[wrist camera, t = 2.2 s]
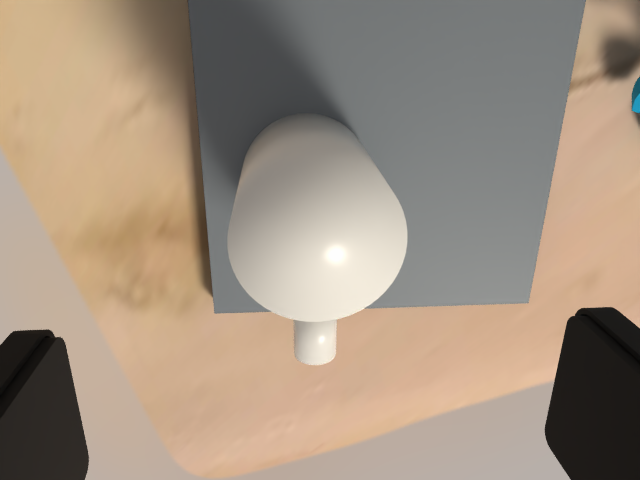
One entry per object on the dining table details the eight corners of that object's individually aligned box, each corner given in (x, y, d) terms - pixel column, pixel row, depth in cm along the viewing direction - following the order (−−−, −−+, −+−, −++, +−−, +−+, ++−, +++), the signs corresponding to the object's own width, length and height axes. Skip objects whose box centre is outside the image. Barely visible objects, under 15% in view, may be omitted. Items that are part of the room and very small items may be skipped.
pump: (238, 113, 19) (221, 157, 13) (372, 112, 20) (414, 154, 14) (247, 281, 22) (236, 380, 16) (364, 278, 22) (397, 373, 16)
